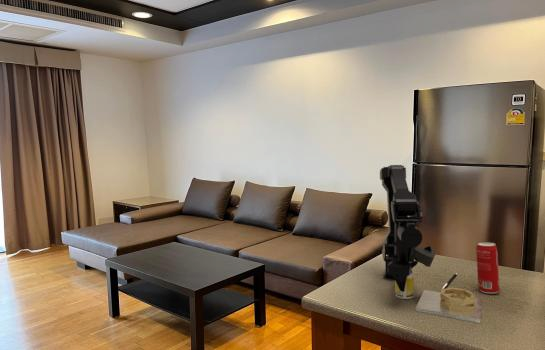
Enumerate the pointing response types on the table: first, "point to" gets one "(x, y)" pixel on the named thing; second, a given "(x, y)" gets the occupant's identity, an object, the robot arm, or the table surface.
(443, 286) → the pen
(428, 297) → the plate
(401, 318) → the table surface
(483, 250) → the beverage can
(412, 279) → the supplement bottle
